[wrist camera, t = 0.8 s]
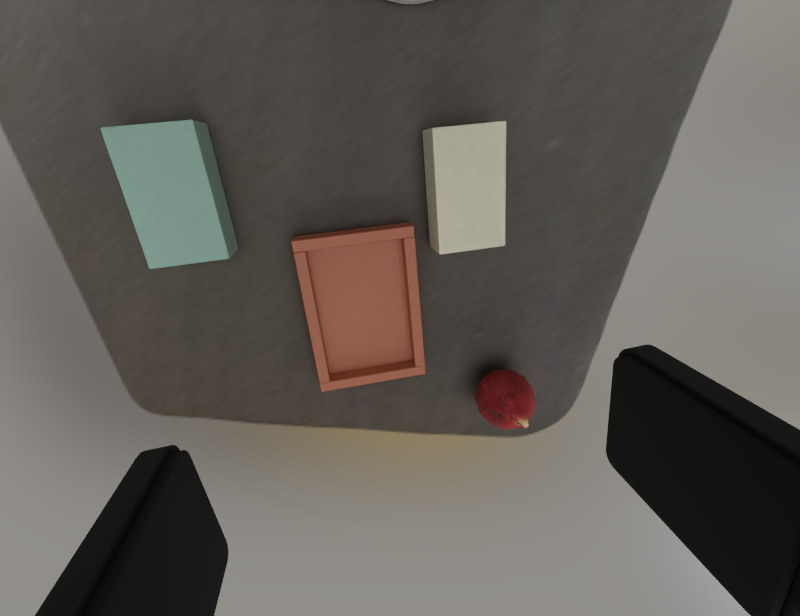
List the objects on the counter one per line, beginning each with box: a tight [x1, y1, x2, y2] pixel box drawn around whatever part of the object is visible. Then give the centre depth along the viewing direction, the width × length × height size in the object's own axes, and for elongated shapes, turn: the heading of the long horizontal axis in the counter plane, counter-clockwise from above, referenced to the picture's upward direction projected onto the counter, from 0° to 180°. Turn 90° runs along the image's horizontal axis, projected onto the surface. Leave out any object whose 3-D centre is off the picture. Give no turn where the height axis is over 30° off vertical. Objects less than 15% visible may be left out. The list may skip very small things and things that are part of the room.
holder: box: [291, 222, 426, 392], centre depth 37 cm, size 15×10×2 cm
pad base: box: [100, 120, 239, 269], centre depth 30 cm, size 10×6×4 cm, turn 6°
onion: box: [475, 370, 535, 429], centre depth 40 cm, size 6×6×8 cm
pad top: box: [422, 121, 506, 255], centre depth 34 cm, size 10×6×4 cm, turn 6°
